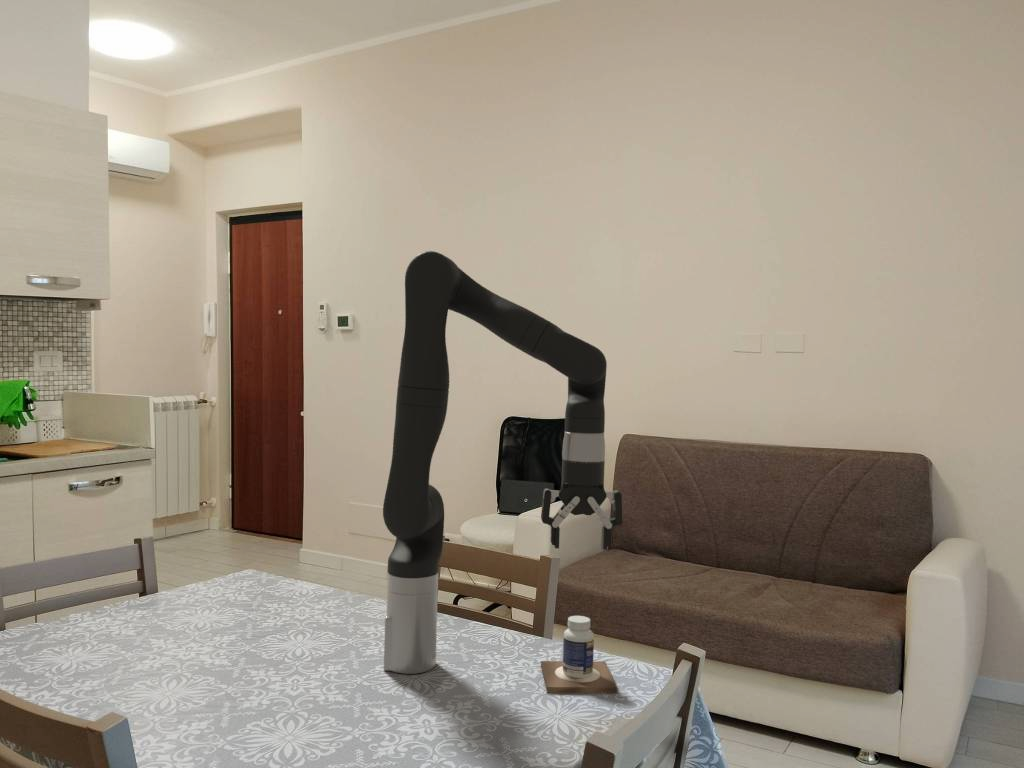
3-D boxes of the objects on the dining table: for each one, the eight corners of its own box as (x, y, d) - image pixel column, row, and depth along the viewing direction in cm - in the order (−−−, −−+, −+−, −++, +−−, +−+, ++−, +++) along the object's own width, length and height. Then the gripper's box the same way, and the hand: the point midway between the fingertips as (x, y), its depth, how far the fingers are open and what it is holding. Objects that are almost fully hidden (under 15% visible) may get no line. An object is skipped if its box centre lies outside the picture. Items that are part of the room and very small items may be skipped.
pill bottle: (591, 680, 139) (592, 625, 139) (560, 677, 140) (562, 622, 140) (594, 669, 144) (595, 615, 144) (564, 666, 145) (566, 613, 145)
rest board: (546, 692, 136) (547, 686, 136) (540, 666, 148) (540, 660, 148) (616, 693, 137) (617, 686, 137) (605, 666, 149) (605, 661, 149)
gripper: (545, 458, 138) (542, 552, 138) (627, 461, 138) (624, 554, 139) (541, 454, 145) (538, 542, 146) (619, 456, 146) (616, 544, 146)
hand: (580, 548), depth 142 cm, fingers open, 8 cm apart
